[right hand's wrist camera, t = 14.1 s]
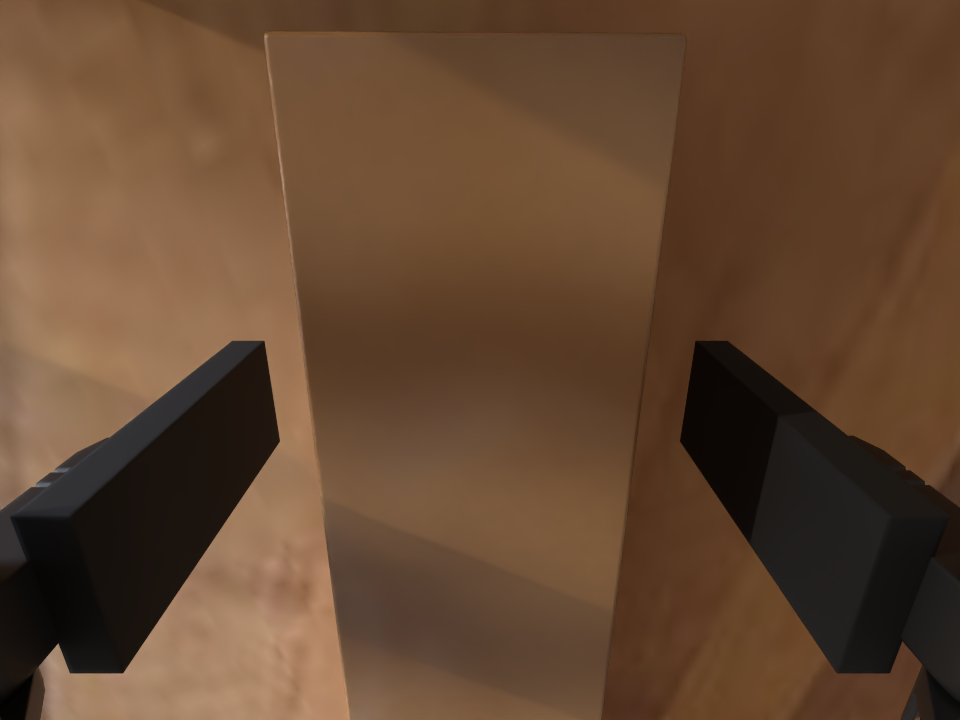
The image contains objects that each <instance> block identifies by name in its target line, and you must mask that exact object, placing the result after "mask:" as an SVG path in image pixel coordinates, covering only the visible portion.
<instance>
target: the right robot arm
mask: <svg viewBox="0 0 960 720" xmlns="http://www.w3.org/2000/svg"><path fill="white" fill-rule="evenodd" d="M279 442H280V439H279V432H278V426H277V419H276V413H275V406H274V400H273V393H272V387H271V381H270V374H269V368H268V361H267V355H266V348H265V342H264V341H232V342H230V343H229V344H228V345H227V346H225V347H224V348H223V349H222V350H220V351H219V352H218V353H217V354H215V355H214V356H213V357H211V358H210V359H209V360H208V361H206V362H205V363H204V364H203V365H201V366H200V367H199V368H198V369H196V370H195V371H194V372H192V373H191V374H190V375H189V376H187V377H186V378H185V379H184V380H182V381H181V382H180V383H179V384H177V385H176V386H175V387H173V388H172V389H171V390H170V391H168V392H167V393H166V394H165V395H163V396H162V397H161V398H159V399H158V400H157V401H156V402H154V403H153V404H152V405H151V406H149V407H148V408H147V409H146V410H144V411H143V412H142V413H140V414H139V415H138V416H137V417H135V418H134V419H133V420H132V421H130V422H129V423H128V424H127V425H125V426H124V427H123V428H121V429H120V430H119V431H118V432H116V433H115V434H114V435H113V436H111V437H110V438H106V439H104V440H102V441H100V442H97V443H95V444H93V445H91V446H89V447H87V448H85V449H83V450H81V451H79V452H77V453H76V454H74V455H73V456H72V457H70V458H69V459H68V460H66V461H65V462H64V463H62V464H61V465H60V466H59V467H57V468H56V469H55V472H54V473H49V474H48V475H47V476H45V477H44V478H43V479H41V480H40V481H39V482H38V483H36V487H31V488H30V489H28V490H27V491H26V492H24V493H23V494H22V495H20V496H19V497H18V498H16V499H15V500H14V501H13V502H11V503H10V504H9V505H7V506H6V507H5V508H3V509H2V510H1V511H0V720H40V718H41V712H42V705H43V699H44V693H45V687H44V681H43V677H42V675H41V672H40V670H39V668H38V667H39V665H40V664H41V663H42V662H43V661H44V659H45V658H46V657H47V656H48V655H49V654H50V652H51V651H52V650H53V649H54V648H55V646H56V645H57V644H58V643H59V646H60V648H61V651H62V653H63V656H64V659H65V661H66V664H67V666H68V669H69V672H70V673H123V672H124V671H125V670H126V668H127V667H128V665H129V664H130V662H131V661H132V659H133V658H134V656H135V655H136V653H137V652H138V650H139V649H140V647H141V646H142V644H143V643H144V641H145V640H146V638H147V637H148V636H149V634H150V633H151V631H152V630H153V628H154V627H155V625H156V624H157V622H158V621H159V619H160V618H161V616H162V615H163V613H164V612H165V610H166V609H167V607H168V606H169V605H170V603H171V602H172V600H173V599H174V597H175V596H176V594H177V593H178V591H179V590H180V588H181V587H182V585H183V584H184V582H185V581H186V579H187V578H188V576H189V575H190V573H191V572H192V571H193V569H194V568H195V566H196V565H197V563H198V562H199V560H200V559H201V557H202V556H203V554H204V553H205V551H206V550H207V548H208V547H209V545H210V544H211V542H212V541H213V539H214V538H215V537H216V535H217V534H218V532H219V531H220V529H221V528H222V526H223V525H224V523H225V522H226V520H227V519H228V517H229V516H230V514H231V513H232V511H233V510H234V508H235V507H236V506H237V504H238V503H239V501H240V500H241V498H242V497H243V495H244V494H245V492H246V491H247V489H248V488H249V486H250V485H251V483H252V482H253V480H254V479H255V477H256V476H257V474H258V473H259V472H260V470H261V469H262V467H263V466H264V464H265V463H266V461H267V460H268V458H269V457H270V455H271V454H272V452H273V451H274V449H275V448H276V446H277V445H278V443H279ZM680 442H681V443H682V445H683V446H684V448H685V449H686V451H687V452H688V454H689V455H690V457H691V458H692V460H693V461H694V463H695V464H696V466H697V467H698V469H699V470H700V472H701V473H702V475H703V476H704V477H705V479H706V480H707V482H708V483H709V485H710V486H711V488H712V489H713V491H714V492H715V494H716V495H717V497H718V498H719V500H720V501H721V503H722V504H723V506H724V507H725V508H726V510H727V511H728V513H729V514H730V516H731V517H732V519H733V520H734V522H735V523H736V525H737V526H738V528H739V529H740V531H741V532H742V534H743V535H744V537H745V538H746V540H747V541H748V542H749V544H750V545H751V547H752V548H753V550H754V551H755V553H756V554H757V556H758V557H759V559H760V560H761V562H762V563H763V565H764V566H765V568H766V569H767V571H768V572H769V573H770V575H771V576H772V578H773V579H774V581H775V582H776V584H777V585H778V587H779V588H780V590H781V591H782V593H783V594H784V596H785V597H786V599H787V600H788V602H789V603H790V605H791V606H792V607H793V609H794V610H795V612H796V613H797V615H798V616H799V618H800V619H801V621H802V622H803V624H804V625H805V627H806V628H807V630H808V631H809V633H810V634H811V636H812V637H813V639H814V640H815V641H816V643H817V644H818V646H819V647H820V649H821V650H822V652H823V653H824V655H825V656H826V658H827V659H828V661H829V662H830V664H831V665H832V667H833V668H834V670H835V671H836V672H837V673H890V672H891V669H892V666H893V664H894V661H895V659H896V656H897V653H898V651H899V648H900V646H901V643H902V641H903V642H904V643H905V644H906V646H907V647H908V648H909V649H910V650H911V652H912V653H913V654H914V655H915V656H916V657H917V659H918V660H919V661H920V662H921V663H922V664H923V665H922V668H921V670H920V672H919V675H918V677H917V680H916V682H915V684H914V687H913V689H912V692H911V694H910V696H909V699H908V701H907V704H906V706H905V709H904V711H903V713H902V716H901V720H914V719H915V718H918V717H920V720H960V508H959V507H958V506H957V505H955V504H954V503H953V502H951V501H950V500H949V499H947V498H946V497H945V496H943V495H942V494H941V493H939V492H938V491H937V490H935V489H934V488H933V487H931V486H930V485H925V483H924V482H925V481H923V480H922V479H921V478H919V477H918V476H917V475H915V474H914V473H913V472H912V471H906V467H905V466H904V465H902V464H901V463H900V462H898V461H897V460H896V459H894V458H893V457H892V456H890V455H889V454H888V453H886V452H885V451H884V450H882V449H880V448H878V447H876V446H873V445H871V444H869V443H867V442H865V441H863V440H861V439H859V438H857V437H855V436H847V435H846V434H845V433H844V432H842V431H841V430H840V429H839V428H837V427H836V426H835V425H833V424H832V423H831V422H830V421H828V420H827V419H826V418H825V417H823V416H822V415H821V414H820V413H818V412H817V411H816V410H814V409H813V408H812V407H811V406H809V405H808V404H807V403H806V402H804V401H803V400H802V399H801V398H799V397H798V396H797V395H795V394H794V393H793V392H792V391H790V390H789V389H788V388H787V387H785V386H784V385H783V384H781V383H780V382H779V381H778V380H776V379H775V378H774V377H773V376H771V375H770V374H769V373H768V372H766V371H765V370H764V369H762V368H761V367H760V366H759V365H757V364H756V363H755V362H754V361H752V360H751V359H750V358H749V357H747V356H746V355H745V354H743V353H742V352H741V351H740V350H738V349H737V348H736V347H735V346H733V345H732V344H731V343H729V342H728V341H696V342H695V348H694V355H693V361H692V368H691V374H690V381H689V387H688V393H687V400H686V406H685V413H684V419H683V426H682V432H681V439H680Z"/></svg>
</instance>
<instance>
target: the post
mask: <svg viewBox="0 0 960 720" xmlns="http://www.w3.org/2000/svg"><path fill="white" fill-rule="evenodd" d="M686 44H687V39H686V35H684V34H682V33H539V32H325V31H269V32H267V33H265V35H264V45H265V53H266V61H267V69H268V77H269V85H270V93H271V101H272V109H273V117H274V125H275V133H276V141H277V149H278V157H279V165H280V173H281V181H282V189H283V197H284V205H285V213H286V221H287V230H288V238H289V246H290V254H291V262H292V270H293V278H294V286H295V294H296V302H297V310H298V318H299V326H300V334H301V342H302V350H303V358H304V366H305V374H306V382H307V390H308V398H309V406H310V414H311V422H312V430H313V439H314V447H315V455H316V463H317V471H318V479H319V487H320V495H321V503H322V511H323V519H324V527H325V535H326V543H327V551H328V559H329V567H330V575H331V583H332V591H333V599H334V607H335V615H336V623H337V631H338V639H339V647H340V656H341V664H342V672H343V680H344V688H345V696H346V704H347V712H348V720H602V712H603V704H604V696H605V688H606V680H607V672H608V664H609V656H610V648H611V640H612V632H613V624H614V616H615V608H616V600H617V592H618V585H619V577H620V569H621V561H622V553H623V545H624V537H625V529H626V521H627V513H628V505H629V497H630V489H631V481H632V473H633V465H634V457H635V449H636V441H637V433H638V425H639V418H640V410H641V402H642V394H643V386H644V378H645V370H646V362H647V354H648V346H649V338H650V330H651V322H652V314H653V306H654V298H655V290H656V282H657V274H658V266H659V258H660V251H661V243H662V235H663V227H664V219H665V211H666V203H667V195H668V187H669V179H670V171H671V163H672V155H673V147H674V139H675V131H676V123H677V115H678V107H679V99H680V91H681V84H682V76H683V68H684V60H685V52H686Z"/></svg>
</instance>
